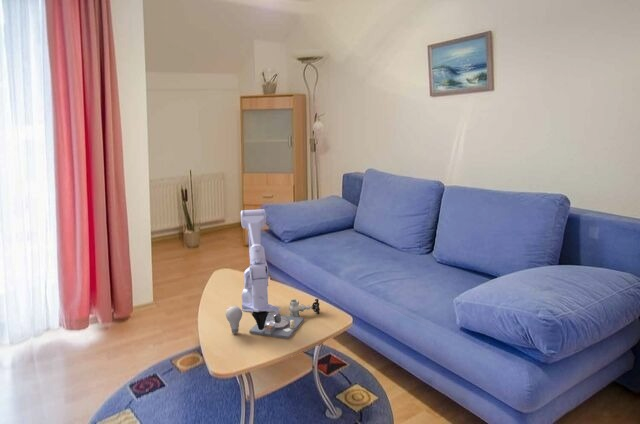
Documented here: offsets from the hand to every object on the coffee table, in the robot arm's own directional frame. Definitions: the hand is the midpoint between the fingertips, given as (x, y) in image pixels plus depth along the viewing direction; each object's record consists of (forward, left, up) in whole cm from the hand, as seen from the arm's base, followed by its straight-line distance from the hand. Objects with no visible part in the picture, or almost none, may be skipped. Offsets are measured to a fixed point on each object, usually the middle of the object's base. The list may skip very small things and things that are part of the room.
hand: (261, 328), depth 171 cm
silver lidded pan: (+3, +5, -1) cm, 6 cm away
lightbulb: (-10, -3, -2) cm, 10 cm away
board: (+3, +7, -2) cm, 8 cm away
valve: (+10, +20, -2) cm, 22 cm away
